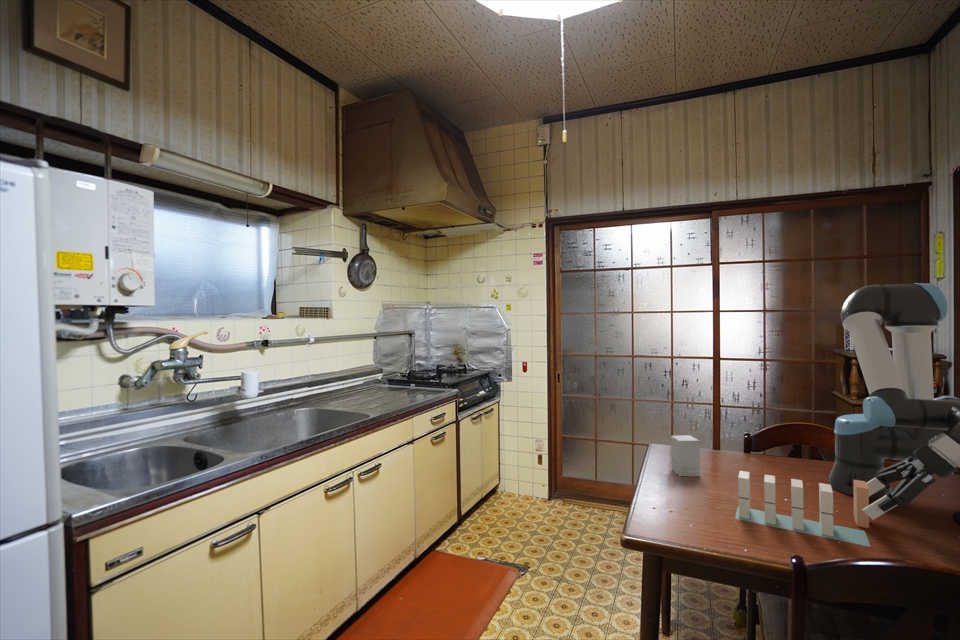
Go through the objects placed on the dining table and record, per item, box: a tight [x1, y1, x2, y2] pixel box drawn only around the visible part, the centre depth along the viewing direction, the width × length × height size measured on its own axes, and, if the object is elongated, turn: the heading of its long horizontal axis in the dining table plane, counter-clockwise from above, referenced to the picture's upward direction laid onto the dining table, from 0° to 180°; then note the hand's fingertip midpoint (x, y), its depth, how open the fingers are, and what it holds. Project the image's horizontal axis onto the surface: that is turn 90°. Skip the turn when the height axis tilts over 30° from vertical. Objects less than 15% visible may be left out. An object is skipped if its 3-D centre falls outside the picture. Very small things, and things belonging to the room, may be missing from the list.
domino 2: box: [763, 474, 777, 525], centre depth 120 cm, size 2×6×11 cm, turn 146°
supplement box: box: [670, 434, 701, 477], centre depth 157 cm, size 7×7×13 cm
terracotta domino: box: [852, 480, 870, 529], centre depth 117 cm, size 2×6×11 cm, turn 146°
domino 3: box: [790, 478, 805, 530], centre depth 116 cm, size 2×6×11 cm, turn 146°
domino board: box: [734, 505, 872, 548], centre depth 116 cm, size 28×9×1 cm, turn 56°
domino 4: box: [818, 482, 834, 537], centre depth 113 cm, size 2×6×11 cm, turn 146°
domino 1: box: [737, 470, 751, 519], centre depth 123 cm, size 2×6×11 cm, turn 146°
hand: (862, 504), depth 116 cm, fingers open, 13 cm apart
